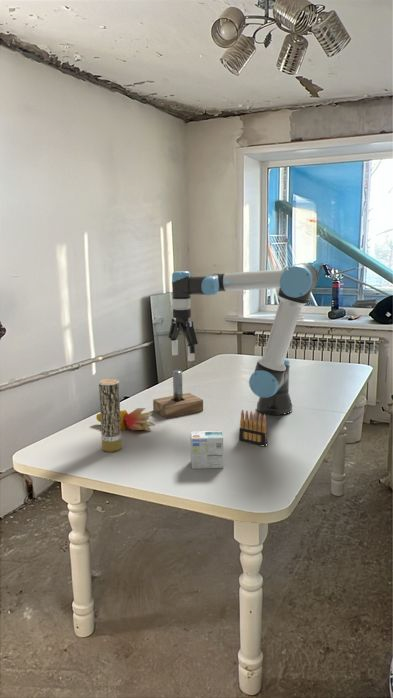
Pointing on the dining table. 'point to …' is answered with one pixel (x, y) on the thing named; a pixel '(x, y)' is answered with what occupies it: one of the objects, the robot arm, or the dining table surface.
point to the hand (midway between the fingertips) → (183, 357)
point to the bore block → (177, 405)
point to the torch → (133, 420)
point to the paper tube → (110, 414)
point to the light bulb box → (206, 449)
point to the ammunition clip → (253, 429)
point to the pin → (177, 386)
